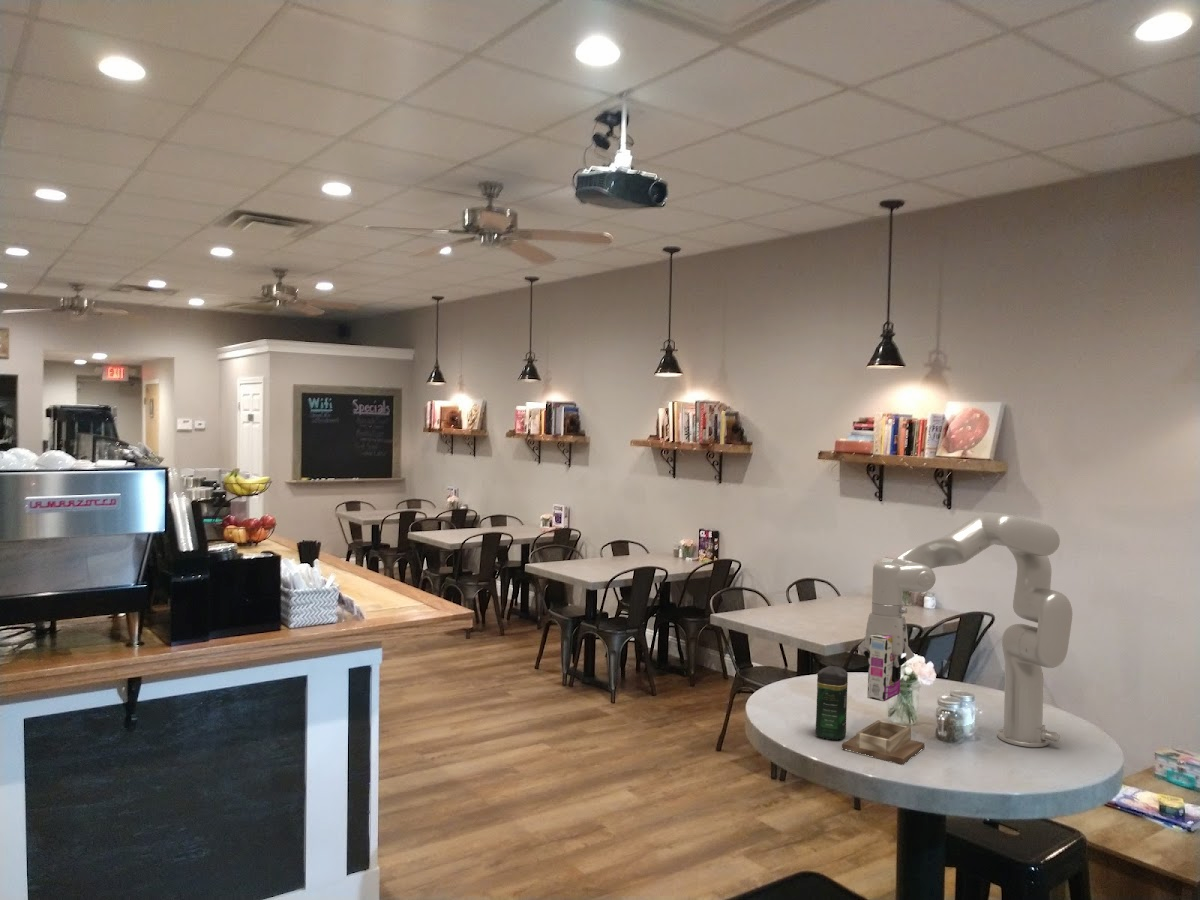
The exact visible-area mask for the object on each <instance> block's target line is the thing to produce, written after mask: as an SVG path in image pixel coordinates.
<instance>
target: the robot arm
mask: <svg viewBox="0 0 1200 900" xmlns="http://www.w3.org/2000/svg"><path fill="white" fill-rule="evenodd" d="M1060 538H1061V537H1060V535H1059V532H1058V531H1057V530H1056V528H1054V527H1053V526H1051V525H1049V524H1046V523H1041V522H1038V521H1034V520H1030V519H1026V518H1023V517H1019V516H1015V515H1012V514H1007V513H1000V512H992V511H991V512H990V511H988V512H987V511H986V512H981V513H978V515H976V516H974V517H972V518H971V519H969V520H968V521H966V522H965V523H963V524H962V525H960V526H959V527H957V528H955V529H954V530H952V531H951V532H949V533H948V534H946V535H944V536H941V537H939V538H936V539H933V540H931V541H928V542H925V543H921V544H920V545H916V546H915V547H914V546H913V548H911V549H909V550H908V549H907V551H905V552H904V553H901V555H899V556H898V557H896V558H895V559H894V560H893V561H891V562H877V563H874V565H873V566H872V567H873V568H872V587H871V588H872V589H871V590H872V591H871V592H872V595H871V602H872V604H871V612H870V613H869V614H868V618H867V623H866V629H865V637H864V639H863V640H862V641H861V643H859V645H858V646H857V648H858V650H859V651H860V652H861V653H862V654H863V655H864V656H865V659H867V661H868V662H869V647H870V636H871V635H874V634H877V635H884V636H889V637H892V655H893V661H894V667H893V668H892V681H893V682H897V681H899V679H900V680H901V675H902V672H901V671H902V666H903V665H904V664H905V663H906V662H908V661H910V660H911V659H913V658H914V657H915V654H914V652H913V651H912V650H911V648H910V647H909V639H908V638H909V637H908V636H909V635H908V627H907V620H906V617H905V616H903V615H904V614H907V613H908V608H905V607H904V605H903V591H907V592H912V593H925V592H928V591H930V590H932V588H933V587H934V586H935V583H936V574H935V572H934V570H933V569H935V568H940V567H949V566H957V565H961V564H965V563H966V562H968V561H970V560H971V559H972V558H974V557H976V556H977V555H978V554H981V552H983V551H985V550H987V549H988V548H989V547H991V546H995V545H996V546H1003V547H1006V548H1007V549H1008V551H1010V553H1011V554H1012V556H1013V557H1014V559H1015V563H1016V567H1017V569H1016V578H1015V579H1016V580H1015V586H1014V594H1013V600H1012V602H1013V603H1012V608H1013V611H1014V613H1015V614H1016V615H1017V616H1018V617H1019V618H1021V619H1023V620H1026V621H1030V622H1033V623H1036V624H1037V627H1036V626H1033V625H1029V624H1023V623H1015V624H1012V625H1009V626H1008V627H1007V628H1006V629H1005V630H1004V632H1003V634H1002V638H1001V644H1002V652H1003V657H1004V667H1005V668H1004V671H1005V672H1004V701H1003V703H1004V707H1003V713H1004V714H1003V729H1000V730H998V731H997V734H996V735H997V737H998V738H999V740H1001V741H1003V742H1005V743H1007V744H1011V745H1015V746H1018V747H1025V748H1026V747H1027V748H1043V747H1046V746H1048V745H1049V741H1053V742H1056V743H1060V741H1061V740H1060V739H1061V735H1060V734H1058V733H1057V732H1055V731H1050V730H1048V729H1046V725H1045V724H1043V716H1044V710H1043V709H1044V686H1045V685H1044V682H1045V681H1044V672H1043V668H1047V669H1055V668H1057V667H1059V666H1060V665H1062V664H1063V663H1064V661H1065V659H1066V657H1067V654H1068V650H1069V643H1070V636H1071V631H1072V630H1071V629H1072V624H1073V623H1072V621H1073V607H1072V604H1071V602H1070V599H1069V598H1068V597H1067V596H1066V595H1065V594H1063V593H1062V592H1060V591H1057V590H1053V589H1051V585H1052V563H1051V560H1050V558H1049V556H1051V555H1052V554H1054V553H1055V552H1056V551H1057V550H1058V549H1059V547H1060V545H1061V544H1060V543H1061V539H1060ZM903 654H905V656H903V657H902V655H903ZM1042 667H1043V668H1042Z"/></svg>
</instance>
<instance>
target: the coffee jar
mask: <svg viewBox="0 0 1200 900" xmlns="http://www.w3.org/2000/svg"><path fill="white" fill-rule="evenodd" d="M848 674H849V673H848V672H847V670H845V669H844V668H843V667H841V666H835V665H833V666H832V665H828V666H826V667H823V668H821V669H820V670H819V671H818V673H817V675H816V676H817V679H816V685H817V686H816V712H815V713H816V714H815V717H816V718H815V735H816V736H817V737H819V738H822V737H823V738H822V739H824V738H827V739H826V740H828V739H832V740H838V739H840V740H842V739H843V738H844V737H845V736H846V734H847V709H848V707H847V706H848V678H849V677H848V676H849V675H848Z"/></svg>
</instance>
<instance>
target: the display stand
mask: <svg viewBox="0 0 1200 900" xmlns="http://www.w3.org/2000/svg"><path fill="white" fill-rule="evenodd" d="M911 733H912V727H911V726H908V725H907V726H906V725H901V724H896V723H893V722H888V721H884V720H880V719H877V720H875V721H874V722H872V723H870V724H869V725H867V726H865V727H863V728H862V729H860V730H858V731H857V732H856V733H855V736H853V737H851V738H849V739H848V740H846V741H845V742H843V743H842V744H841V749H842V748H843V749H847V750H851V751H854V752H858V753H861V754H866V755H869V756H873V757H876V758H875V759H877V758H880V759H879V760H881V759H884V760H883V761H885V760H887V761H886V762H889V761H892V762H891V763H893V762H896V763H895V764H897V763H899V764H898V765H902V764H903V765H904V763H905V762H906V763H907V762H909V761H910V760H911V759H912V758H911V757H912V756H914V755H915V754H917V753H918V752H919V751H920V750H921V749H923V748H924V749H925V742H921V741H918V740H913V739H911V736H912V735H911ZM924 749H923V750H924ZM919 753H920V752H919ZM919 753H918V754H919ZM861 754H860V755H861ZM918 754H917V755H918ZM869 756H868V757H869ZM915 756H916V755H915ZM915 756H914V757H915ZM873 757H872V758H873ZM910 758H911V759H910ZM909 759H910V760H909ZM908 760H909V761H908ZM906 763H905V764H906Z"/></svg>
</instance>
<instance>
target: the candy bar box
mask: <svg viewBox="0 0 1200 900" xmlns="http://www.w3.org/2000/svg"><path fill="white" fill-rule="evenodd" d="M893 667H894V661H893V655H892V637H889V636H884V635H877V634H874V635H871V636H870V647H869V661H868V676H867V697H866V698H867V699H870V700H874V701H879V702H886V701H888V700H890V699H891V698H893V697H896V696H897V695H899V694H900V693H901V678H900V679H899V681H897V682H893V681H892V668H893Z"/></svg>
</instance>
